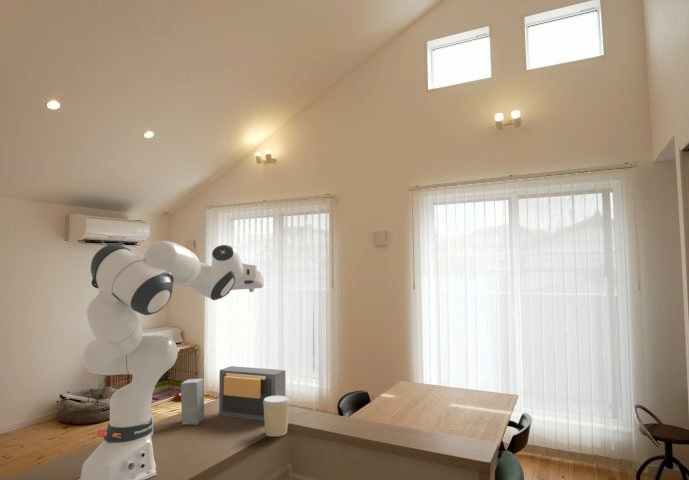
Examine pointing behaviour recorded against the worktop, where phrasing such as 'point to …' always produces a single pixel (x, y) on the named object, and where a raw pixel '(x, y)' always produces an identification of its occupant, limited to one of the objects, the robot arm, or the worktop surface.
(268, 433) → the coffee cup
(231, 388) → the panel
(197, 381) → the skincare box
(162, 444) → the worktop surface
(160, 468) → the worktop surface
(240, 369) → the grey rectangular box
